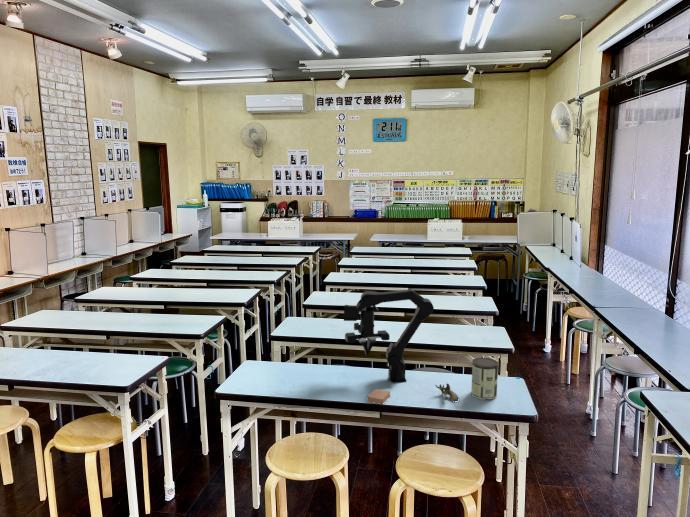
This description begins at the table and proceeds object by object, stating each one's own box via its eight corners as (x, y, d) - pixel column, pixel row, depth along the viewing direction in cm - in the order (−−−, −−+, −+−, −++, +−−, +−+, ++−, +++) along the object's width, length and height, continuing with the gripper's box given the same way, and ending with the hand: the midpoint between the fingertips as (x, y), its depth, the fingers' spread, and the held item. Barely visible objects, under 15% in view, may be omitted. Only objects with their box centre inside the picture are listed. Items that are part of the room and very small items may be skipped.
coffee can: (482, 387, 216) (484, 355, 214) (502, 396, 207) (504, 363, 205) (465, 393, 210) (466, 360, 208) (484, 402, 202) (486, 368, 200)
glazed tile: (375, 388, 210) (367, 396, 202) (390, 391, 207) (382, 399, 200) (375, 394, 210) (367, 402, 203) (390, 397, 207) (382, 405, 200)
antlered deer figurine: (431, 394, 207) (446, 398, 199) (437, 377, 209) (452, 381, 201) (444, 400, 210) (459, 405, 202) (450, 384, 212) (465, 388, 204)
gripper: (382, 314, 230) (382, 347, 232) (342, 316, 226) (342, 350, 228) (390, 321, 219) (389, 356, 221) (347, 324, 215) (347, 359, 218)
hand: (367, 355), depth 223 cm, fingers closed
